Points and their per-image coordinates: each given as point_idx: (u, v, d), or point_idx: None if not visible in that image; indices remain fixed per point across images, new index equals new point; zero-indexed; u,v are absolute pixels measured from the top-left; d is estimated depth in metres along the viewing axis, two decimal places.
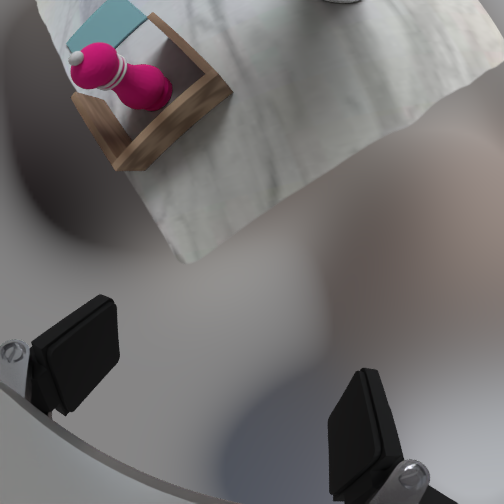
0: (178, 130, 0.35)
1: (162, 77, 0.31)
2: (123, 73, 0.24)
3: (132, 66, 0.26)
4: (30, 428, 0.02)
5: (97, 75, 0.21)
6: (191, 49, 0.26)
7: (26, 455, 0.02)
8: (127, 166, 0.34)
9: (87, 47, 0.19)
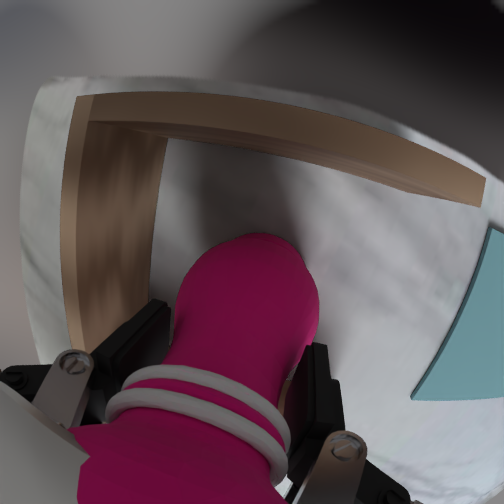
0: None
1: None
2: None
3: None
4: (30, 428, 0.02)
5: None
6: None
7: (26, 455, 0.02)
8: None
9: None
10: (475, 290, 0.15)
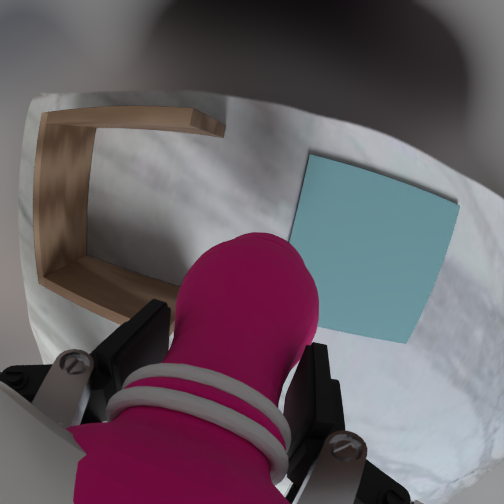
0: None
1: None
2: None
3: None
4: (30, 428, 0.02)
5: None
6: (69, 298, 0.23)
7: (26, 455, 0.02)
8: None
9: None
10: (302, 208, 0.24)
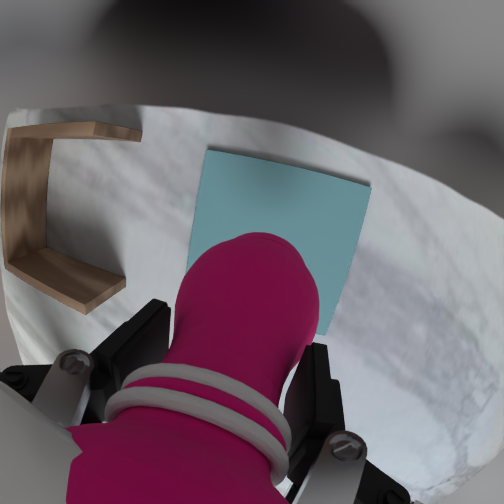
0: None
1: None
2: None
3: None
4: (30, 428, 0.02)
5: None
6: (24, 279, 0.24)
7: (26, 455, 0.02)
8: None
9: None
10: (201, 199, 0.26)
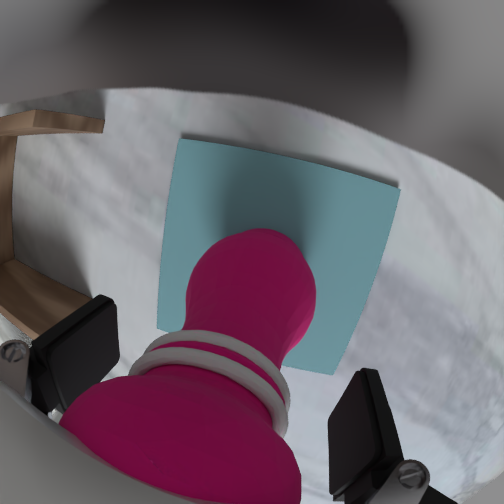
0: None
1: None
2: None
3: None
4: (30, 428, 0.02)
5: None
6: None
7: (26, 455, 0.02)
8: None
9: None
10: (173, 204, 0.19)
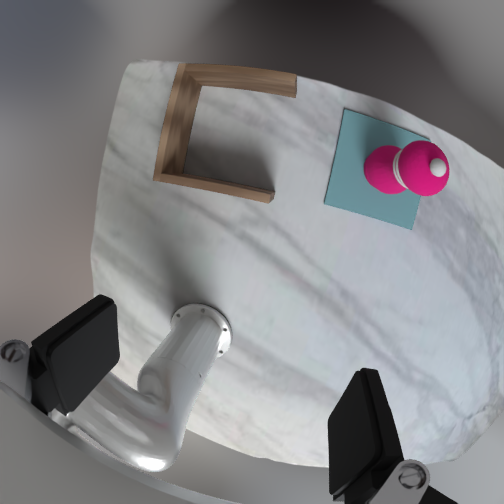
0: None
1: (376, 187, 0.35)
2: (395, 172, 0.27)
3: (400, 184, 0.30)
4: (30, 428, 0.02)
5: (405, 158, 0.23)
6: (188, 184, 0.36)
7: (26, 455, 0.02)
8: None
9: (438, 184, 0.22)
10: (341, 137, 0.38)
